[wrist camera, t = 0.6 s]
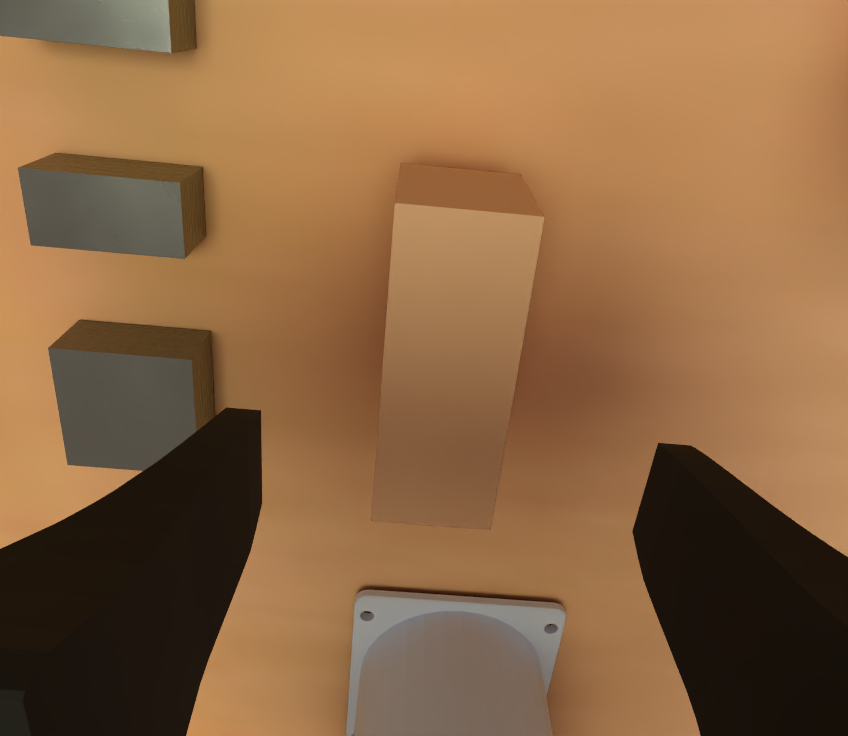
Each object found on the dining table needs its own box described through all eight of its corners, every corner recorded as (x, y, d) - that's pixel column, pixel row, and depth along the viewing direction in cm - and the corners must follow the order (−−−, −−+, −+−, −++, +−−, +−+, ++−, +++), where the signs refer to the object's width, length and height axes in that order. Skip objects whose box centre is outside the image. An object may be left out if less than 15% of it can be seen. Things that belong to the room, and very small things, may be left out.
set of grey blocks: (216, 439, 24) (198, 474, 22) (94, 429, 23) (67, 464, 22) (187, -140, 16) (157, -159, 14) (10, -160, 16) (-41, -181, 14)
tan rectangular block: (475, 408, 23) (490, 530, 18) (383, 401, 23) (371, 521, 18) (511, 159, 19) (544, 217, 14) (403, 148, 19) (394, 202, 14)
